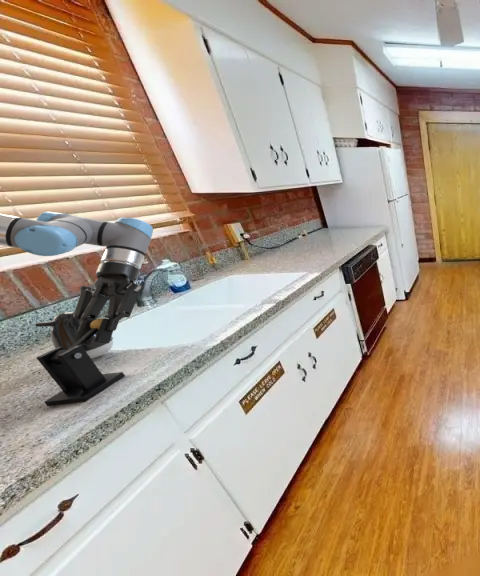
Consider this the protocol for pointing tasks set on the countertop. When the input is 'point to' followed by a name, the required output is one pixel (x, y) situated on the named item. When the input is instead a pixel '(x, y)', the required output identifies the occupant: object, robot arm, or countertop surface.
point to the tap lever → (94, 329)
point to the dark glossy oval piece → (73, 334)
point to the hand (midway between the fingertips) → (92, 343)
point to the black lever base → (76, 376)
